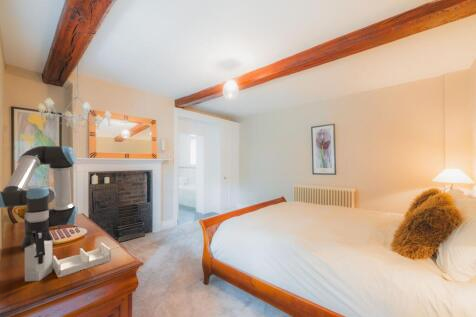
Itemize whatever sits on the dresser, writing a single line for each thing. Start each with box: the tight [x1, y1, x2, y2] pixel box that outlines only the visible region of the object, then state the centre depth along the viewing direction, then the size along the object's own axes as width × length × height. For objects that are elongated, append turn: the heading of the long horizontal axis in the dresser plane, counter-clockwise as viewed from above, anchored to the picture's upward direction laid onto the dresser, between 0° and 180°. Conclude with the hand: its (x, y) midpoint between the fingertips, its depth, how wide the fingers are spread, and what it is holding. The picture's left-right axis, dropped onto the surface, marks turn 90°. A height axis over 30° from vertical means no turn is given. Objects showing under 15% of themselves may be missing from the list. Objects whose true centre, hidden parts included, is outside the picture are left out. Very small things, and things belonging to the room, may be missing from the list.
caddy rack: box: [52, 242, 112, 278], centre depth 111 cm, size 14×22×6 cm, turn 139°
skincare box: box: [24, 241, 53, 282], centre depth 100 cm, size 8×7×16 cm
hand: (38, 265), depth 99 cm, fingers open, 13 cm apart
